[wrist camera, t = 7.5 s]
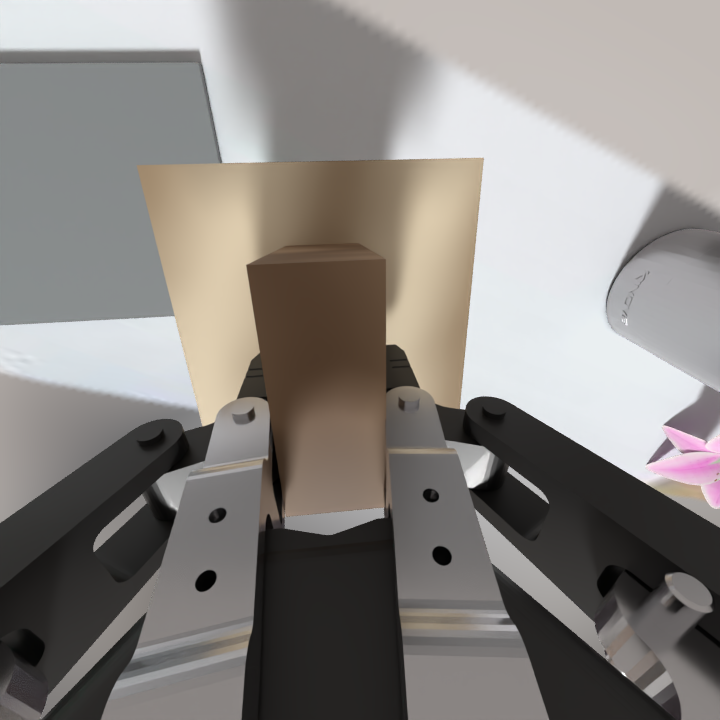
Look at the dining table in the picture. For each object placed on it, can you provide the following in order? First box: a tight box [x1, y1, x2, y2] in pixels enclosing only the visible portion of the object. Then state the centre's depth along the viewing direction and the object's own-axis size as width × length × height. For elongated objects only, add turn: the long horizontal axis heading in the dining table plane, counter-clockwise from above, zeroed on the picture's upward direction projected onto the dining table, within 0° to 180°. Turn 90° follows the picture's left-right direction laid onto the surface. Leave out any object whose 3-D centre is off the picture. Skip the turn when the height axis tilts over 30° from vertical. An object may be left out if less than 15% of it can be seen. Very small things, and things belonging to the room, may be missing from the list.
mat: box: [0, 62, 221, 325], centre depth 20 cm, size 18×14×1 cm
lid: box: [137, 158, 484, 517], centre depth 10 cm, size 11×11×7 cm
